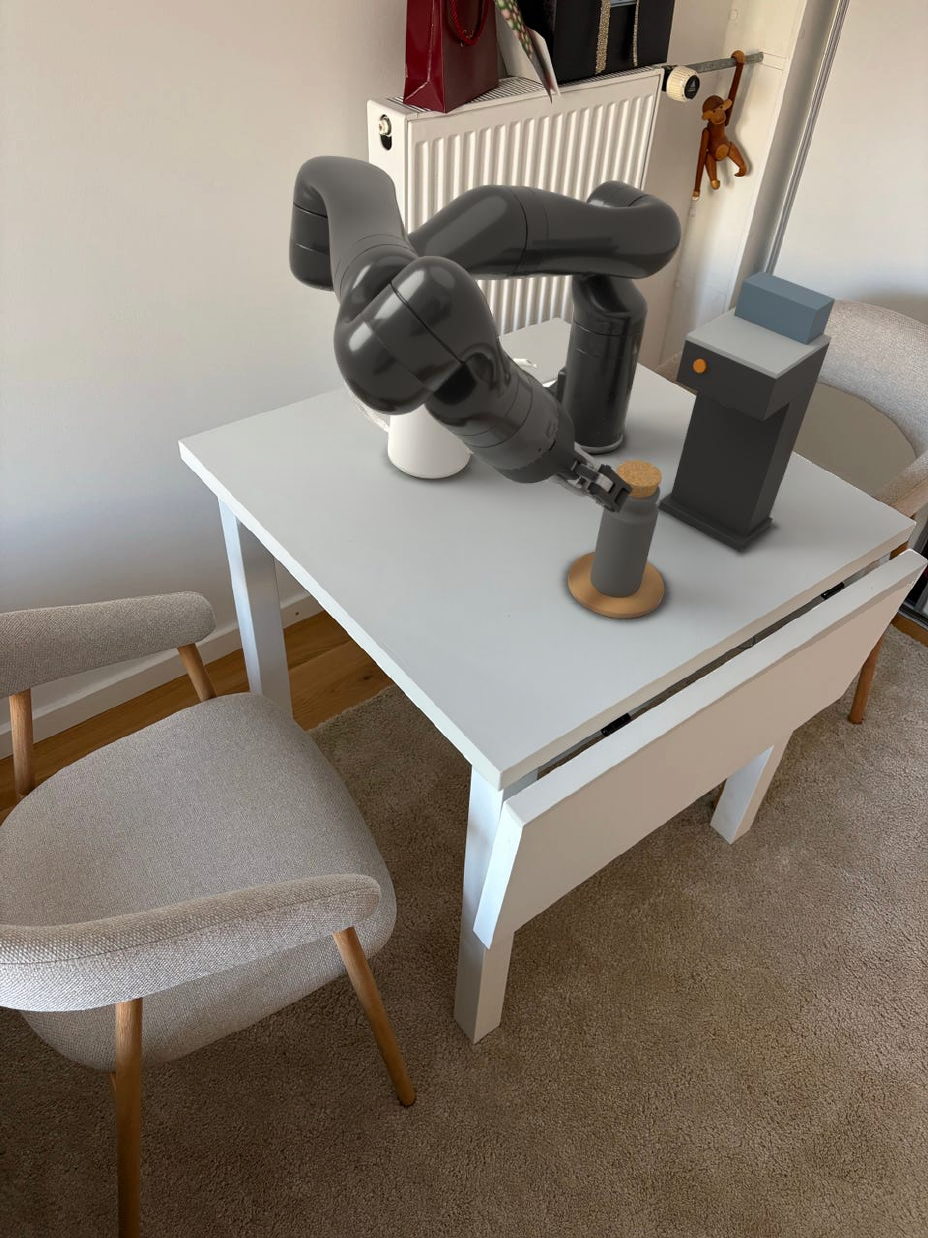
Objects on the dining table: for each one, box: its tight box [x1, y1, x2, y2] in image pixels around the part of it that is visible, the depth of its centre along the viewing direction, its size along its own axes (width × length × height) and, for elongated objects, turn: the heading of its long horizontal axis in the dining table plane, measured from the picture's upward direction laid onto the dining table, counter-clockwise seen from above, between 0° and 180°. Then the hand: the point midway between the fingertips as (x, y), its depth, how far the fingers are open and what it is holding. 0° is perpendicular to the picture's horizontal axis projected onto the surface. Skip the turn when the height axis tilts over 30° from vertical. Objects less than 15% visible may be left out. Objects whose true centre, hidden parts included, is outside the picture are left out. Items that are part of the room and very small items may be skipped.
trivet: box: [567, 551, 665, 619], centre depth 113 cm, size 11×11×1 cm
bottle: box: [590, 460, 663, 597], centre depth 108 cm, size 6×6×15 cm
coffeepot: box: [342, 358, 539, 479], centre depth 124 cm, size 11×25×19 cm, turn 71°
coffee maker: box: [658, 270, 836, 552], centre depth 113 cm, size 12×12×30 cm
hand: (579, 482), depth 93 cm, fingers open, 8 cm apart
